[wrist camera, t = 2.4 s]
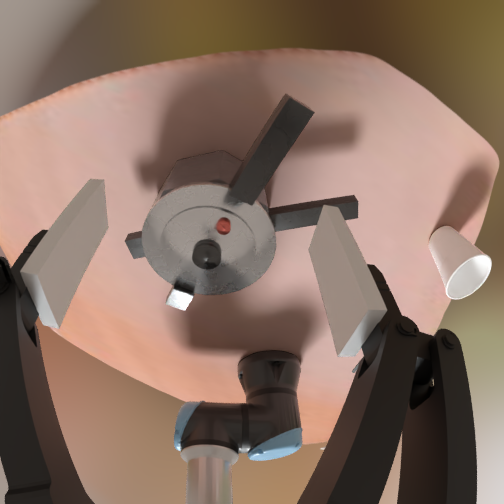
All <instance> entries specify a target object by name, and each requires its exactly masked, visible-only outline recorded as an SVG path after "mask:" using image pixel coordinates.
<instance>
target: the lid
mask: <svg viewBox="0 0 504 504" xmlns="http://www.w3.org/2000/svg"><path fill="white" fill-rule="evenodd" d="M314 113H315V112H314V111H312V110H311V109H310V108H309V107H308V106H306V105H304V104H303V103H301V102H300V101H298V100H296V99H295V98H293V97H291V96H289V95H288V94H285V95H284V97H283V98H282V100H281V101H280V103H279V104H278V106H277V107H276V109H275V111H274V112H273V114H272V115H271V117H270V118H269V120H268V122H267V123H266V125H265V126H264V128H263V129H262V131H261V133H260V134H259V136H258V138H257V139H256V141H255V142H254V144H253V146H252V147H251V149H250V150H249V152H248V154H247V155H246V157H245V159H244V160H243V162H242V164H241V165H240V167H239V169H238V170H237V172H236V174H235V175H234V177H233V179H232V180H231V182H230V184H229V185H227V184H224V183H218V182H195V183H189V184H185V185H182V186H180V187H177V188H175V189H173V190H171V191H169V192H167V193H166V194H165V195H163V196H162V197H161V198H160V199H159V200H158V201H157V202H156V203H155V204H154V205H153V207H152V208H151V209H150V211H149V213H148V215H147V217H146V220H145V222H144V226H143V229H142V246H143V250H144V253H145V256H146V258H147V260H148V262H149V264H150V265H151V266H152V268H153V269H154V270H155V271H156V272H157V274H158V275H160V276H161V277H162V278H163V279H164V280H166V281H167V282H169V283H170V284H172V285H173V287H172V289H171V291H170V292H169V294H168V296H167V299H166V304H167V305H170V306H173V307H176V308H178V309H181V310H184V311H185V310H186V308H187V307H188V305H189V303H190V302H191V300H192V298H193V297H194V293H197V294H204V295H220V294H227V293H231V292H235V291H238V290H241V289H243V288H245V287H247V286H249V285H251V284H252V283H254V282H255V281H257V280H258V279H259V278H260V277H261V276H262V275H263V274H264V273H265V272H266V271H267V269H268V268H269V266H270V265H271V263H272V260H273V258H274V255H275V250H276V236H275V231H274V226H273V223H272V220H271V218H270V216H269V214H268V213H267V211H266V210H265V208H264V207H263V206H262V205H261V204H260V203H259V202H258V201H257V200H256V199H257V198H258V196H259V195H260V193H261V192H262V190H263V189H264V187H265V186H266V184H267V183H268V181H269V180H270V178H271V176H272V175H273V173H274V172H275V170H276V169H277V167H278V166H279V164H280V163H281V161H282V160H283V158H284V157H285V155H286V154H287V152H288V151H289V149H290V148H291V146H292V145H293V144H294V142H295V141H296V139H297V138H298V136H299V135H300V133H301V132H302V130H303V129H304V127H305V126H306V124H307V123H308V121H309V120H310V118H311V117H312V116H313V114H314Z"/></svg>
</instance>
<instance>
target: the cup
mask: <svg viewBox="0 0 504 504" xmlns="http://www.w3.org/2000/svg"><path fill="white" fill-rule="evenodd" d="M429 249H430V251H431V254H432V256H433V258H434V260H435V263H436V265H437V268H438V270H439V272H440V275H441V278H442V280H443V283H444V285H445V288H446V294H447V296H448V297H449V298H451V299H461V298H464V297H466V296H468V295H470V294H472V293H473V292H474V291H476V290H477V289H478V288H479V287H480V286H481V285H482V284H483V283H484V281H485V280H486V279H487V277H488V275H489V273H490V270H491V263H492V262H491V259H490V257H489V256H488V255H487V254H484V253H483V252H482V251H480V250H479V249H478V248H477V247H476V246H474V245H473V244H472V243H471V242H470V241H468V240H467V239H466V238H465V237H464V236H462V235H461V234H460V233H459V232H457V231H456V230H455V229H454V228H452V227H451V226H443V227H440V228H438V229H437V230H436V231H435V232H434V233H433V234H432V236H431V238H430V240H429Z"/></svg>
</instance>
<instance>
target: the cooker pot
mask: <svg viewBox="0 0 504 504" xmlns="http://www.w3.org/2000/svg"><path fill="white" fill-rule="evenodd" d="M241 164H242V161H240V160H239V159H237V158H235V157H234V156H232V155H230V154H229V153H227V152H225V151H223V150H221V151H217V152H212V153H207V154H203V155H198V156H194V157H190V158H185V159H181V160H177V162H176V164H175V166H174V167H173V169H172V171H171V172H170V174H169V176H168V178H167V179H166V181H165V183H164V185H163V186H162V188H161V190H160V192H159V194H158V195H157V198H156V200H155V202H154V204H155V203H156V202H157V201H158V200H159V199H160V198H161V197H162V196H163V195H165V194H166V193H167V192H169V191H171V190H173V189H175V188H177V187H180V186H182V185H185V184H189V183H195V182H218V183H224V184H227V185H229V184H230V182H231V180H232V179H233V177H234V175H235V174H236V172H237V170H238V169H239V167H240V165H241ZM256 200H257V201H258V202H259V203H260V204H261V205H262V206H263V207H264V208H265V210H266V211H267V213H268V214H269V216H270V218H271V220H272V223H273V226H274V231H275V232H276V231H282V230H288V229H294V228H300V227H306V226H312V225H317V223H318V220H319V217H320V214H321V211H322V208H323V205H328V206H334V207H338V208H339V210H340V212H341V214H342V216H343V218H344V220H349V219H355V218H358V200H357V199H356V197H355V196H354V195H351V196H344V197H337V198H331V199H324V200H318V201H311V202H305V203H299V204H293V205H286V206H280V207H275V208H269V209H268V204H267V198H266V193H265V187H264V189H263V190H262V192H261V193H260V195H259V196H258V198H257V199H256ZM154 204H153V205H154ZM152 207H153V206H152ZM125 242H126V244H127V246H128V248H129V250H130V252H131V254H132V256H133V258H134V259H136V258H141V257H146V256H145V253H144V250H143V246H142V231H139V232H135V233H130V234H128V235H127V238H126V240H125Z"/></svg>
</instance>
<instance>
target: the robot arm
mask: <svg viewBox="0 0 504 504" xmlns="http://www.w3.org/2000/svg"><path fill="white" fill-rule="evenodd" d="M107 229H108V219H107V209H106V198H105V185H104V180H99V179H90V180H89V181H88V182H87V183H86V184H85V186H84V187H83V188H82V189H81V190H80V191H79V193H78V194H77V195H76V196H75V197H74V198H73V200H72V201H71V202H70V203H69V205H68V206H67V207H66V208H65V210H64V211H63V212H62V213H61V215H60V216H59V217H58V218H57V220H56V221H55V222H54V224H53V225H52V226H51V228H50V229H49V230H42V231H40V232H39V233H38V234H36V235H35V236H34V237H33V238H32V239H31V241H30V242H29V243H28V246H26V248H25V249H24V250H23V253H21V255H20V256H19V257H18V259H17V260H16V262H15V263H14V265H13V266H12V268H10V266H9V263H8V261H7V260H6V259H5V258H4V257H0V457H1V461H2V465H3V468H4V472H5V475H6V478H7V482H8V486H9V487H8V488H9V490H8V492H7V493H6V495H5V504H94V502H93V501H92V500H91V499H90V498H89V496H88V495H87V493H86V492H85V490H84V488H83V485H82V483H81V481H80V479H79V476H78V474H77V471H76V469H75V467H74V464H73V462H72V459H71V457H70V454H69V451H68V448H67V446H66V443H65V440H64V437H63V434H62V431H61V428H60V425H59V422H58V418H57V415H56V412H55V408H54V405H53V401H52V397H51V393H50V389H49V385H48V381H47V377H46V372H45V367H44V362H43V357H42V352H41V347H40V340H39V334H38V329H37V326H36V324H35V322H36V320H37V318H38V316H39V317H40V319H41V321H42V323H43V325H45V326H50V327H54V328H58V329H59V328H60V326H61V323H62V321H63V319H64V316H65V314H66V312H67V309H68V307H69V305H70V303H71V300H72V298H73V296H74V294H75V292H76V290H77V287H78V285H79V283H80V281H81V279H82V277H83V275H84V273H85V271H86V269H87V267H88V265H89V263H90V261H91V259H92V257H93V255H94V253H95V251H96V249H97V248H98V246H99V244H100V242H101V240H102V238H103V236H104V235H105V233H106V231H107ZM309 253H310V256H311V260H312V263H313V267H314V270H315V274H316V277H317V281H318V284H319V288H320V291H321V295H322V299H323V302H324V306H325V310H326V313H327V317H328V321H329V325H330V328H331V332H332V336H333V340H334V344H335V348H336V352H337V356H338V357H350V356H356V354H357V353H358V352H359V350H360V349H361V348H362V350H363V354H364V357H363V358H362V359H361V360H360V362H359V363H358V364H357V365H356V367H355V368H354V369H353V371H352V372H353V373H355V371H356V370H357V371H356V374H355V377H354V380H353V383H352V385H351V388H350V391H349V393H348V396H347V398H346V401H345V403H344V406H343V408H342V411H341V413H340V416H339V418H338V421H337V423H336V425H335V428H334V430H333V432H332V434H331V437H330V439H329V441H328V444H327V446H326V448H325V450H324V452H323V454H322V456H321V458H320V460H319V462H318V464H317V467H316V469H315V471H314V473H313V475H312V476H311V478H310V480H309V482H308V484H307V486H306V488H305V490H304V492H303V494H302V495H301V497H300V499H299V501H298V503H297V504H378V503H379V501H380V498H381V496H382V493H383V490H384V488H385V485H386V482H387V479H388V476H389V473H390V470H391V467H392V464H393V461H394V457H395V454H396V451H397V447H398V444H399V440H400V436H401V433H402V454H401V469H400V481H399V491H398V500H397V504H476V501H477V459H476V441H475V428H474V418H473V410H472V403H471V395H470V390H469V383H468V377H467V372H466V366H465V361H464V356H463V352H462V347H461V344H460V341H459V339H458V338H457V336H456V335H455V334H454V333H453V332H451V331H450V330H447V329H440V330H438V331H437V332H436V334H435V335H434V336H432V335H428V334H425V333H422V332H419V329H418V327H417V325H416V324H415V323H414V322H413V321H412V320H411V319H409V318H408V317H405V316H402V315H401V312H400V310H399V308H398V306H397V304H396V301H395V299H394V297H393V295H392V293H391V291H390V289H389V287H388V285H387V284H386V280H385V278H384V276H383V274H382V273H381V272H380V271H379V270H378V269H377V267H376V266H375V265H370V264H366V262H365V260H364V258H363V255H362V253H361V251H360V249H359V247H358V245H357V243H356V241H355V239H354V237H353V235H352V233H351V231H350V229H349V227H348V225H347V223H346V221H345V220H344V218H343V216H342V214H341V212H340V210H339V208H338V207H334V206H328V205H323V208H322V211H321V214H320V217H319V220H318V223H317V226H316V229H315V232H314V235H313V238H312V241H311V244H310V247H309ZM300 372H301V368H300V362H299V359H298V358H297V357H296V356H294V355H293V354H290V353H287V352H283V351H264V352H259V353H255V354H252V355H250V356H248V357H246V358H244V359H243V360H242V361H241V362H240V363H239V365H238V377H239V380H240V383H241V385H242V387H243V390H244V392H245V395H246V403H212V402H205V401H200V402H186V403H185V404H183V405H182V407H181V408H180V410H179V413H178V416H177V420H176V426H175V434H174V445H175V448H176V449H177V450H179V451H181V457H182V459H183V460H185V461H186V462H187V463H188V466H187V486H186V504H233V498H232V473H231V466H232V465H233V464H234V463H235V462H236V461H237V460H238V458H239V457H238V453H248V457H249V459H251V460H258V461H261V460H270V459H275V458H280V457H284V456H287V455H289V454H292V453H294V452H296V451H297V450H298V449H300V447H301V445H302V428H301V421H300V414H299V407H298V400H297V392H296V391H297V386H298V382H299V377H300ZM433 379H434V386H433V381H432V380H433Z"/></svg>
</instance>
